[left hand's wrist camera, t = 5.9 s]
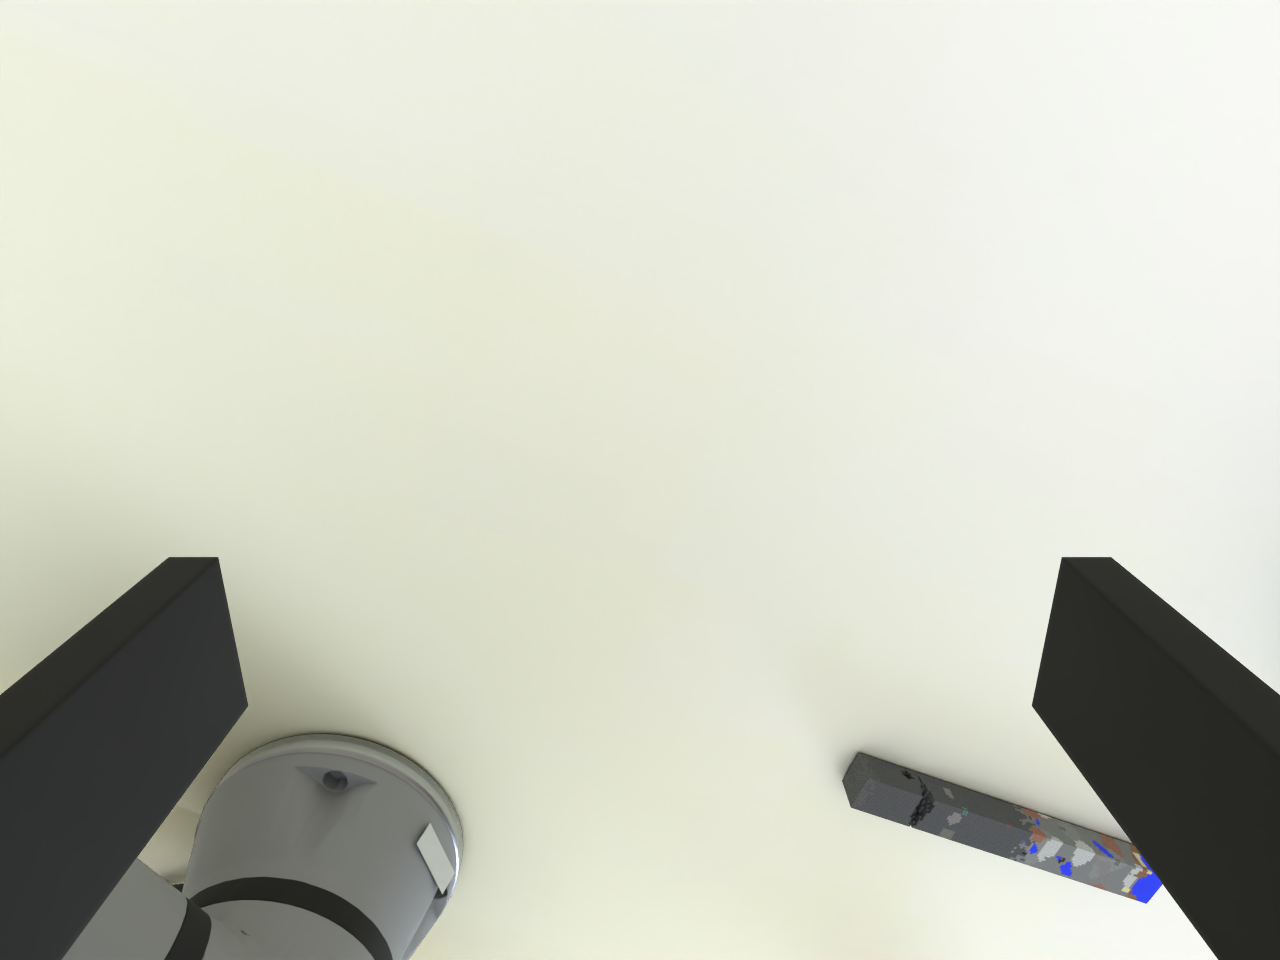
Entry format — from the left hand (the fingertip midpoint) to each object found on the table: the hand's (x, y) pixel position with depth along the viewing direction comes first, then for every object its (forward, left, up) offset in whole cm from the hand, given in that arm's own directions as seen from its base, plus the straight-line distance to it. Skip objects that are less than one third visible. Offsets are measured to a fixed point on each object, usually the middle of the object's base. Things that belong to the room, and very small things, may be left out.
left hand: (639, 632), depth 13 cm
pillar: (+3, -36, -28) cm, 46 cm away
